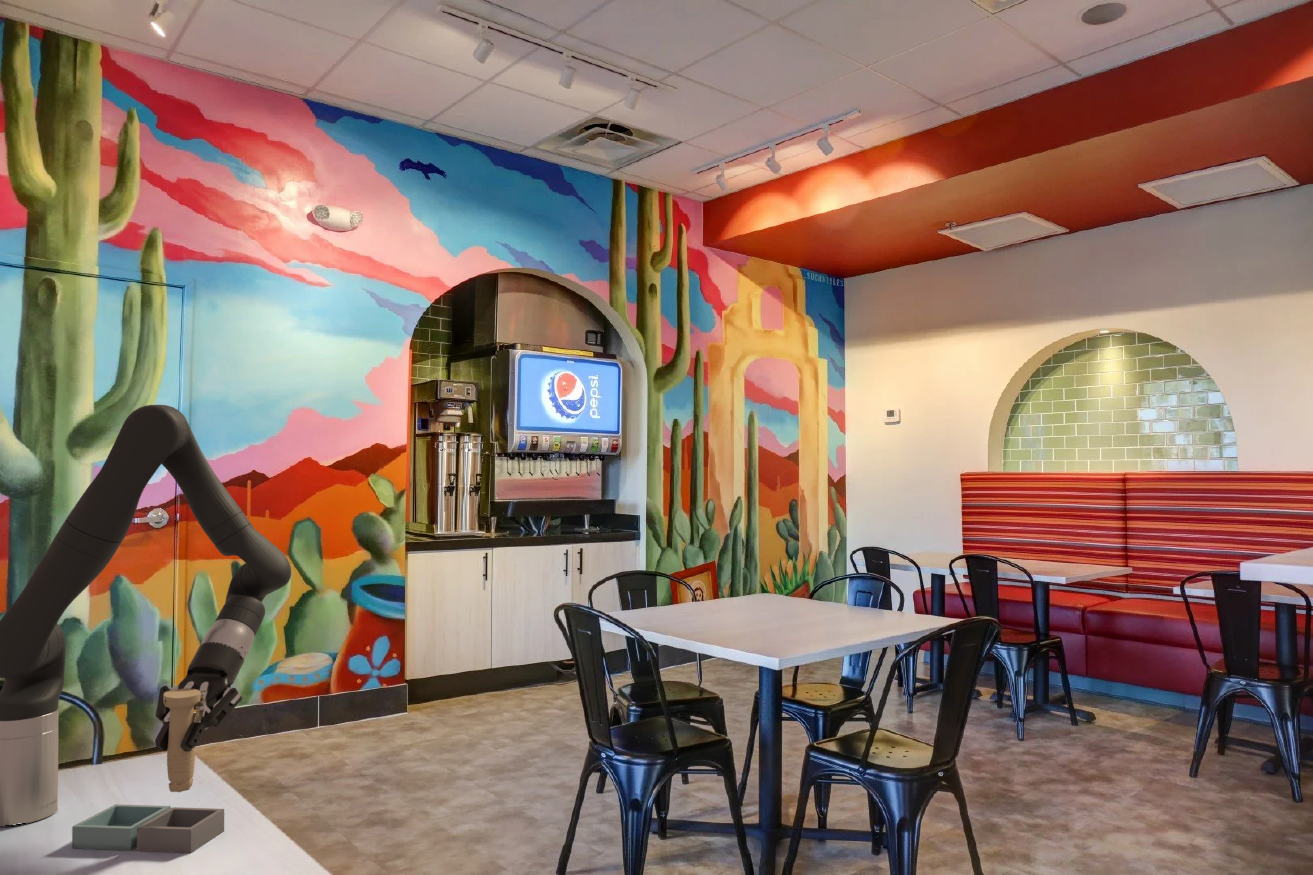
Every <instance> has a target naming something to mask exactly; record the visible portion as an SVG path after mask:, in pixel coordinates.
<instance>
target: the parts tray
mask: <svg viewBox="0 0 1313 875" xmlns="http://www.w3.org/2000/svg"><path fill="white" fill-rule="evenodd" d="M171 808H172V807H171V805H152V804H151V805H149V804H148V805H146V804H118V803H117V804H114V805H112V806H109V807H108V808H106V809H103V810H102V811H99V812H98V813H95V814H94V815H92V816H90V817H88V818H86V819H84V820H82V821H81V822H78V823H76V824H75V825H73V826H72V828H71V831H72V832H71V833H72V834H71V836H72V837H71V841H72V843H71V849H81V850H82V849H84V850H104V851H105V850H106V851H107V850H108V851H109V850H110V851H132V850H134V849H137V827H139V826H141V825H142V824H144V823H146V822H148V821H149V820H151V819H153V818H155V817H156V816H158V815H160V814H162V813H163V812H165V811H167V810H169V809H171Z"/></svg>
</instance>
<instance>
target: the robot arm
mask: <svg viewBox="0 0 1313 875" xmlns="http://www.w3.org/2000/svg"><path fill="white" fill-rule="evenodd" d="M161 465H162V467H163V468H165V469H166V470H167V472H168V473H169V475H171V477H172V478H173V480H174V481H175V482H176V484H177V485H178V487H179V489H180V490H181V491H182V494H183V495H184V498H185V500H186V502H187V504H188V506H189V508H190V510H191V512H192V514H193V515H194V517H195V518H194V519H196V521H197V523H198V524H199V526H200V527H201V529H202V530H203V532H204V534H206V536H207V537H208V539H209V541H211V543H213V545H214V547H215V548H216V550H218V552H219V553H220V554H221V555H223V556H225V557H232V556H236V557H238V558H239V559H241V560H242V562H244V563H243V564H241V565H240V566H239V567H238V569H237V570H236V571H235V573H234V574H233V576H232V578H231V580H230V582H229V585H228V588H227V589H228V590H227V592H226V596H225V602H224V604H223V606H222V608H221V610H220V612H219V613H218V615H217V616H216V618H215V621H214V623H213V624H212V625H211V626H210V628H209V630H208V631H207V632H206V634H205V635H204V637H203V639H202V640H201V643H200V644H199V646H198V648H197V650H196V652H195V653H194V655H193V657H192V659H191V661H190V663H189V664H188V667H187V672H186V676H185V677H184V678H183V679H182V680H181V681H179V684H178V685H176V686H173V687H168V686H167V685H162V686H161V687H160V689H159V694H158V700H157V706H156V711H155V717H156V719H158V721H159V722H160V723H161V724H162V727H161V728H160V730H159V732H158V734H157V735H156V737H155V741H154V743H155V747H156V748H158V750H160V751H166V752H167V749H168V737H169V723H170V708H168V707H166V706H165V705H164V702H163V696H164V693H165V692H167V691H171V690H176V689H185V688H189V689H197V690H199V691H201V697H200V701H199V702H198V703H197V704H195V705H194V710H196V712H195V713H194V714H195V715H194V724H191V725H190V726H189V728H188V730H187V732H186V734H185V736H184V738H183V740H182V742H181V745H180V746H181V748H182V749H183V750H184V751H185V752H190V751H191V750H192V748H194V747H195V748H196V746H198V743H199V741H200V739H201V737H202V735H203V733H204V731H206V730H208V728H210V727H213V728H217V727H219V726H220V725H221V724H222V723H223V722H224V720H225V719H226V718H228V716H229V715H230V714H231V713H232V711H233V710H234V709H235V708H236V707H237V706H238V705H239V703H241V701H242V700H243V695H242V694H241V693H240V692H239V690H238V689H237V688H236V687H232V686H233V684H234V683H235V681H236V679H237V677H238V675H239V673H240V670H241V669H242V667H243V665H244V663H245V660H246V659H247V656H248V654H249V653H250V650H251V648H252V646H253V642H254V640H255V637H256V635H257V634H258V631H259V629H260V628H261V625H262V623H263V621H264V618H265V615H266V608H265V605H264V604H263V603H262V602H263V600H264V599H265V597H266V596H268V595H269V594H272V593H273V592H276V591H279V589H280V590H281V589H282V588H283V587H285V586H286V585H288V583H289V582H290V580H291V576H292V567H291V564H290V562H289V559H288V558H287V556H286V555H285V554H284V552H282V550H280V549H279V547H277V546H276V545H275V544H274V543H273V542H271V541H270V540H269V539H268V538H267V537H266V536H265V535H263V534H261V533H260V532H259V531H258V530H256V528H255V527H254V526H253V524H252V522H251V521H250V520H249V518H248V517H247V516H246V514H245V512H244V511H243V510H242V509H241V508H240V506H239V505H238V503H237V502H236V500H234V498H233V497H232V495H231V494H230V492H229V491H228V490H227V488H226V487H225V486H224V484H223V483H222V481H221V480H220V479H219V477H218V475H217V474H216V473H215V472H214V470H213V468H212V467H211V465H210V463H209V462H208V460H207V458H206V457H205V454H204V453H203V451H202V449H201V448H200V446H199V444H198V441H197V439H196V437H195V435H194V433H193V431H192V429H191V427H190V424H189V422H188V420H187V418H186V416H185V415H184V414H183V413H182V412H181V411H180V410H178V409H177V408H175V407H174V406H171V405H166V404H149V405H148V404H147V405H143V406H140V407H138V408H136V409H135V410H133V411H131V413H129V414H128V416H127V417H126V418H125V420H124V421H123V424H122V425H121V428H120V430H119V431H118V434H117V437H116V439H115V441H114V444H113V445H112V447H111V449H110V451H109V453H108V454H107V457H106V459H105V461H104V463H103V464H102V467H101V469H100V471H98V473H97V475H96V476H95V477H94V479H92V481H91V483H90V484H89V485H88V487H87V488H86V489H85V490H84V492H82V495H81V497H80V498H79V499H78V501H77V502H76V503H75V505H74V506H73V508H72V509H71V510H70V512H69V514H68V515H67V517H66V518H65V520H64V522H63V523H62V524H61V526H60V528H59V530H58V531H57V532H56V534H55V536H54V538H53V539H52V541H51V543H50V545H49V546H48V549H47V550H46V552H44V553H45V554H44V555H43V557H42V558H41V560H40V561H39V563H38V564H37V566H36V568H35V569H34V571H33V572H32V574H31V576H30V578H29V580H28V582H27V583H26V585H25V587H24V588H23V590H22V591H21V593H19V596H17V598H16V600H14V602H13V603H12V605H11V606H9V609H8V610H7V611H6V612H5V613H4V614H3V616H2V617H1V619H0V679H4V683H3V686H2V688H1V689H0V827H6V826H5V825H13V824H18V823H26V824H29V823H32V822H37V821H40V820H43V819H45V818H47V817H50V816H52V815H53V814H55V813H56V812H57V811H58V805H59V804H58V803H59V799H58V798H59V797H58V796H59V701H60V697H61V694H62V692H63V690H64V689H63V688H64V684H65V670H66V668H65V666H66V638H65V634H64V631H63V630H62V629H63V628H62V627H61V626H60V625H59V623H58V622H59V621H60V619H61V617H62V615H63V614H64V613H65V611H66V610H67V609H68V607H69V606H70V605H71V604H72V602H73V601H74V600H75V599H76V598H78V597H79V595H80V594H81V593H83V591H85V590H86V588H88V587H89V585H90V584H91V583H93V582H94V581H95V579H97V578H98V576H100V574H101V573H102V572H103V571H104V569H105V568H106V567H107V566H108V564H109V563H110V562H111V560H112V558H113V557H114V556H115V554H116V552H117V551H118V549H119V547H120V546H121V544H122V543H123V541H124V539H125V538H126V535H127V534H128V532H129V529H130V527H131V525H132V522H133V520H134V517H135V514H136V511H137V509H138V506H139V503H140V499H141V496H142V494H143V492H144V490H145V488H146V487H147V485H148V483H149V482H150V480H151V479H152V478H153V476H154V474H155V473H156V472H157V471H158V469H159V467H161Z"/></svg>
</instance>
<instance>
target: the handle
mask: <svg viewBox="0 0 1313 875" xmlns="http://www.w3.org/2000/svg"><path fill="white" fill-rule="evenodd" d="M200 697H201V691H199V690H197V689H189V688H185V689H176V690H171V691H167V692H165V693H164V696H163V702H164V705H165V706H166V707H168V708H170V723H169V737H168V748H167V750H166V754H167V755H166V758H167V759H166V762H167V763H166V765H167V768H166V769H167V778H168V781H169V782H170V783H168V789H169V791H170V792H171V793H182V792H185V791H189V790H190V789H191V788H192V786H193V782H194V778H193V777H194V773H195V766H196V765H195V763H196V746H195V747H194V748H192V750H191V751H190V752H185V751H184V750H183V749H182V748H181V746H180V745H181V742H182V740H183V738H184V736H185V734H186V732H187V730H188V728H189V726H190V725H191V724H194V718H195V715H194V714H195V713H194V712H195V711H194V705H195V704H197V703H198V702H199V701H200Z"/></svg>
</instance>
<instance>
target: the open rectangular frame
mask: <svg viewBox="0 0 1313 875" xmlns="http://www.w3.org/2000/svg"><path fill="white" fill-rule="evenodd" d="M224 832H225V809H224V808H207V807H204V808H203V807H177V806H176V807H175V806H174V807H171V809H169V810H167V811H165V812H163V813H162V814H160V815H158V816H156V817H155V818H153V819H151V820H149V821H148V822H146V823H144V824H142V825H141V826H139V827H137V847H136V852H155V853H156V852H157V853H160V852H161V853H181V854H182V853H185V854H193V852H195V851H197V850H198V849H200V848H201V847H202V846H204V845H206V844H207V843H208V842H210V841H212V840H213V839H215V838H216V837H217V836H219V835H220V834H222V833H224Z"/></svg>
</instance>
